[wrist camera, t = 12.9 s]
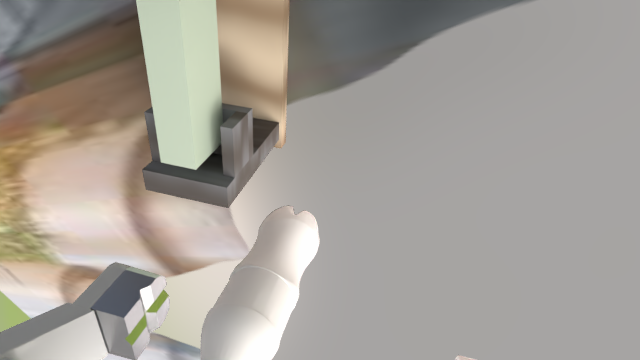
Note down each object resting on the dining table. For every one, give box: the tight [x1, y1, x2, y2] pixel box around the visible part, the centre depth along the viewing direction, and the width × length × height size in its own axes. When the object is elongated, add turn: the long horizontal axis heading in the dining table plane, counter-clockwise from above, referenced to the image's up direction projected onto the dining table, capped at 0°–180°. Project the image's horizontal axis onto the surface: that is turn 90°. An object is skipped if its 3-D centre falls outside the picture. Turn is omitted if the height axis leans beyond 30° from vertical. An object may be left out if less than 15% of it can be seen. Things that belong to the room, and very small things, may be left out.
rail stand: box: [142, 0, 289, 208], centre depth 35 cm, size 29×8×14 cm, turn 176°
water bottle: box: [201, 206, 320, 360], centre depth 43 cm, size 7×7×25 cm
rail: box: [136, 0, 223, 170], centre depth 30 cm, size 20×3×5 cm, turn 176°
